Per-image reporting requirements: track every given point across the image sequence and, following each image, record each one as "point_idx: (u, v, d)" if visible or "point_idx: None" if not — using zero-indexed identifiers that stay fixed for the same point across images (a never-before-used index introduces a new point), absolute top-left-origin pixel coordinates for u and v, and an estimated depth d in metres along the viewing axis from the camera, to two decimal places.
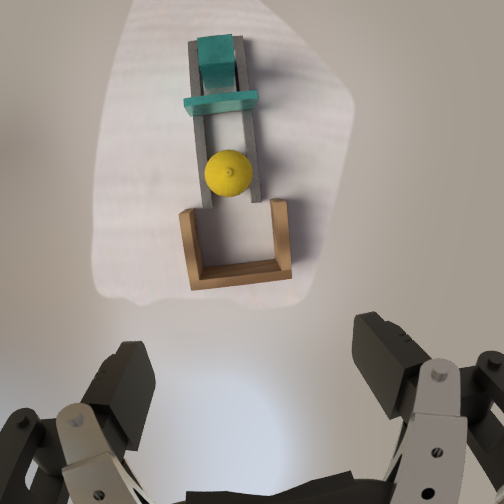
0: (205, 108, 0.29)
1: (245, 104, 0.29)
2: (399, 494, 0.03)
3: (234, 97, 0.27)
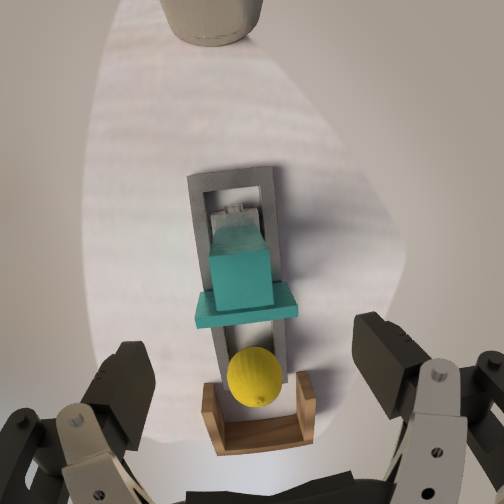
0: None
1: None
2: (399, 494, 0.03)
3: (266, 317, 0.22)
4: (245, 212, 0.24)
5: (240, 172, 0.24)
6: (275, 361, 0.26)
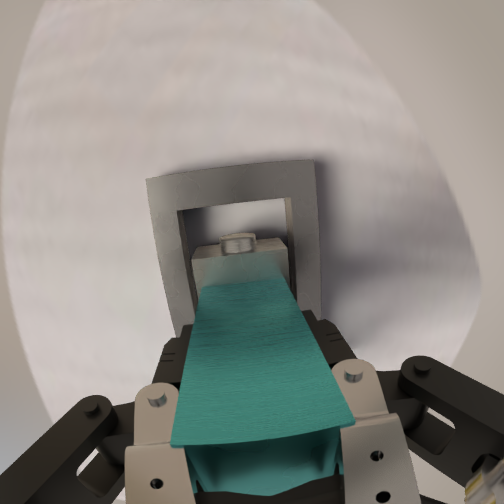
0: None
1: None
2: (399, 494, 0.03)
3: None
4: (262, 253, 0.12)
5: (251, 170, 0.12)
6: None
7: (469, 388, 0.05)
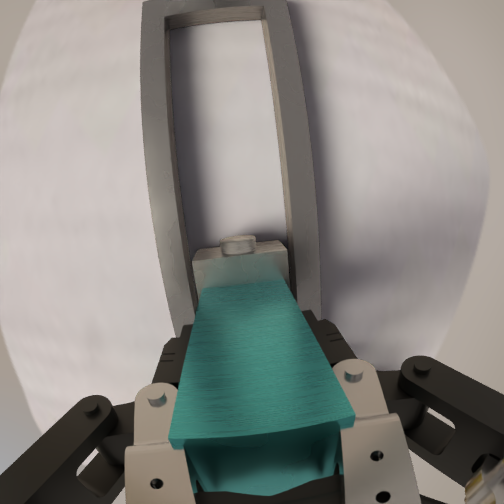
0: None
1: None
2: (399, 494, 0.03)
3: None
4: (262, 254, 0.12)
5: None
6: None
7: (469, 388, 0.05)
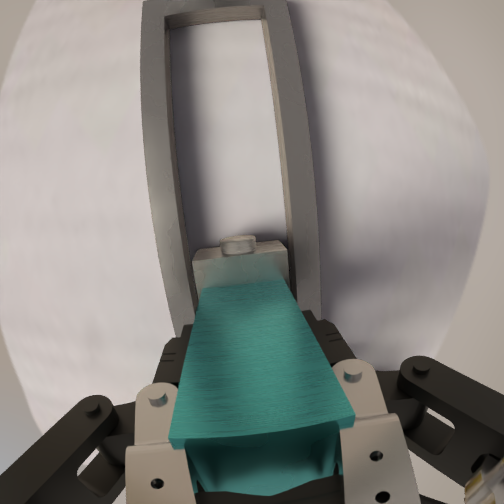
0: None
1: None
2: (399, 494, 0.03)
3: None
4: (262, 254, 0.12)
5: None
6: None
7: (468, 388, 0.05)
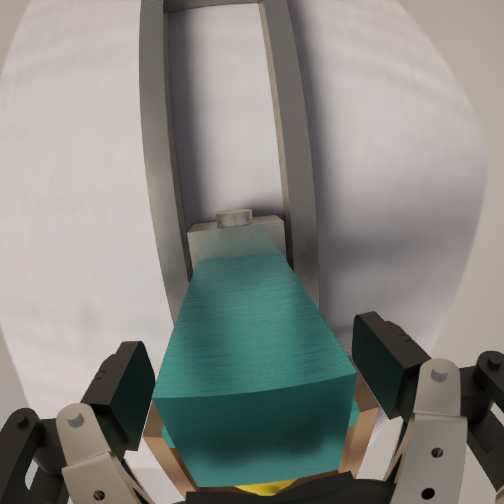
0: None
1: None
2: (399, 494, 0.03)
3: None
4: (258, 226, 0.12)
5: None
6: None
7: None
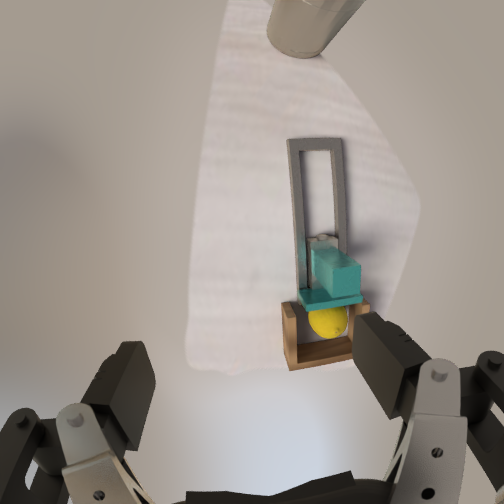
0: None
1: None
2: (399, 494, 0.03)
3: (345, 303, 0.36)
4: (331, 240, 0.38)
5: (322, 140, 0.35)
6: None
7: None
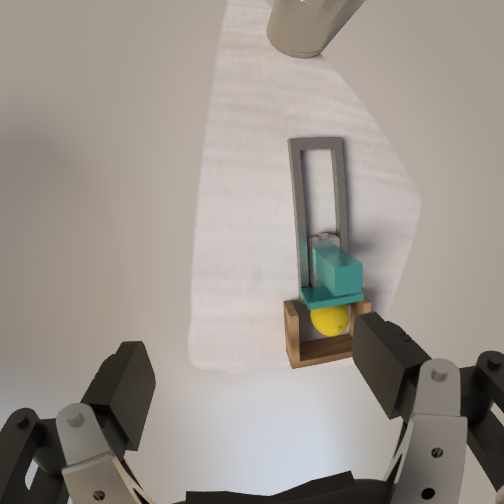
0: None
1: None
2: (399, 494, 0.03)
3: (347, 301, 0.36)
4: (332, 239, 0.38)
5: (322, 139, 0.35)
6: None
7: None
